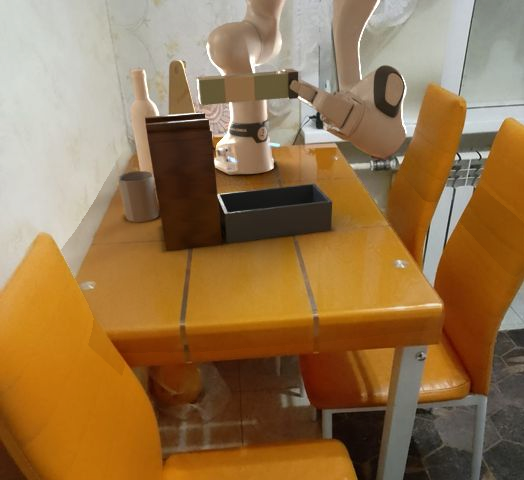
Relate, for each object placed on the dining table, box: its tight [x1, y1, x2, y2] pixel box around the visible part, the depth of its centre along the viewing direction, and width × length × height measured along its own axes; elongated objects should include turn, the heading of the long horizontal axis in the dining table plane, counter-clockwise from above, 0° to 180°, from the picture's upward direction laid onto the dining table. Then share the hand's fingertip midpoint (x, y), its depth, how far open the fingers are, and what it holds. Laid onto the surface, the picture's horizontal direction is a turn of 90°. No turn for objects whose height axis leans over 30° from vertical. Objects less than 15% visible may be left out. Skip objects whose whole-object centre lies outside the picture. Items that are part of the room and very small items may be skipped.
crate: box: [217, 182, 333, 244], centre depth 115 cm, size 25×14×7 cm, turn 102°
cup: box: [117, 170, 160, 223], centre depth 123 cm, size 8×8×10 cm
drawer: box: [196, 68, 299, 106], centre depth 99 cm, size 20×5×5 cm, turn 102°
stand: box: [145, 112, 223, 252], centre depth 107 cm, size 12×14×25 cm
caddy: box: [168, 59, 196, 115], centre depth 163 cm, size 29×11×30 cm, turn 178°
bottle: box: [129, 68, 160, 190], centre depth 137 cm, size 8×8×30 cm
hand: (287, 81), depth 100 cm, fingers closed on drawer, 5 cm apart
